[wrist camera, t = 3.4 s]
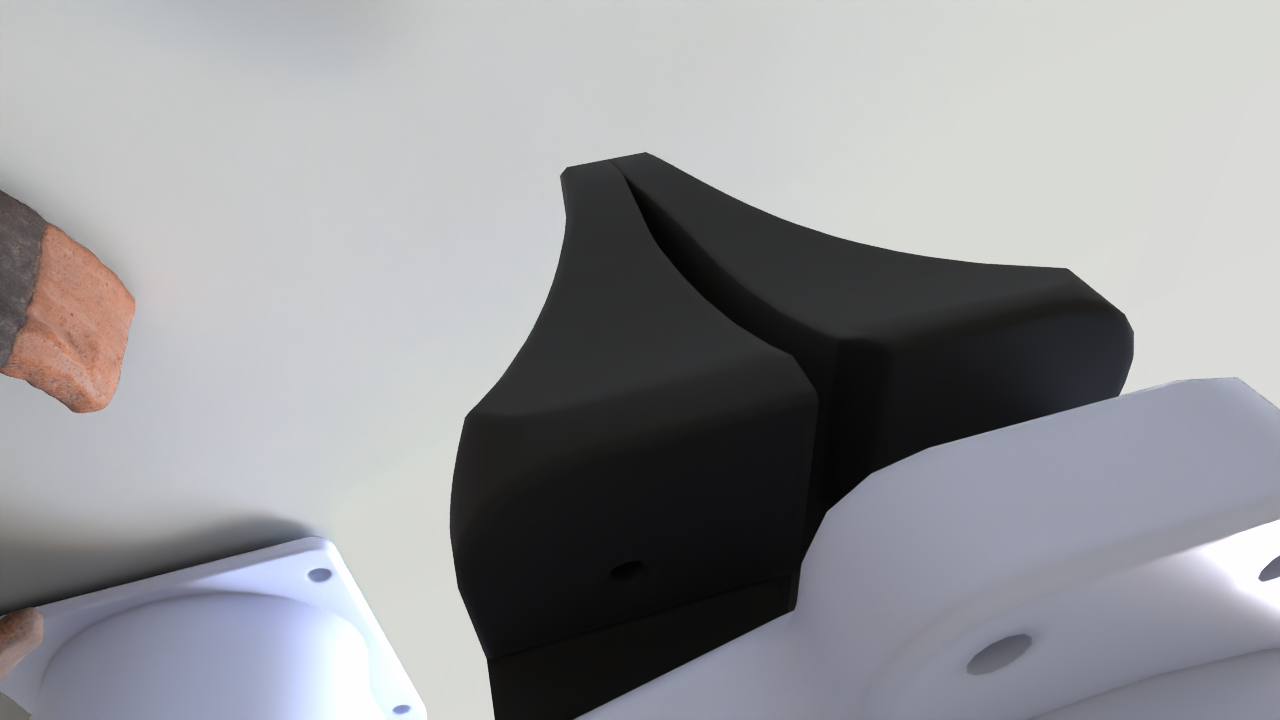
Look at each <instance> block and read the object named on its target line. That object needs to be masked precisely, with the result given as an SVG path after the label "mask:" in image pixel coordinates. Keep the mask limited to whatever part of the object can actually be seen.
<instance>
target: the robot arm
mask: <svg viewBox="0 0 1280 720" xmlns="http://www.w3.org/2000/svg"><path fill="white" fill-rule="evenodd" d="M560 178H561V185H562V192H563V198H564V205H565V212H566V226H565V235H564V240H563V245H562V250H561V254H560V259H559V263H558V267H557V270H556V274H555V277H554V280H553V283H552V286H551V289H550V291H549V294H548V297H547V299H546V302H545V304H544V306H543V308H542V311H541V313H540V315H539V317H538V319H537V321H536V323H535V325H534V327H533V329H532V331H531V333H530V335H529V336H528V338H527V340H526V342H525V343H524V345H523V346H522V348H521V349H520V351H519V352H518V354H517V355H516V357H515V358H514V360H513V361H512V363H511V364H510V366H509V367H508V369H507V370H506V372H505V373H504V374H503V376H502V377H501V378H500V380H499V381H498V382H497V383H496V384H495V386H494V387H493V388H492V389H491V390H490V391H489V392H488V393H487V394H486V395H485V397H484V398H483V399H482V400H481V401H480V402H479V403H478V404H477V405H476V406H475V407H474V408H473V409H472V410H471V411H470V412H469V413H468V414H467V416H466V417H465V420H464V425H463V429H462V433H461V438H460V442H459V447H458V452H457V457H456V463H455V469H454V475H453V482H452V491H451V504H450V538H451V544H452V551H453V558H454V565H455V571H456V578H457V584H458V589H459V591H460V594H461V596H462V599H463V601H464V604H465V606H466V609H467V611H468V614H469V616H470V619H471V621H472V624H473V626H474V629H475V631H476V634H477V636H478V639H479V641H480V644H481V646H482V649H483V651H484V654H485V656H486V658H487V664H488V672H489V679H490V686H491V694H492V701H493V708H494V716H495V720H1280V409H1279V408H1277V407H1276V406H1275V405H1273V404H1272V403H1271V402H1269V401H1268V400H1267V399H1266V398H1264V397H1263V396H1262V395H1260V394H1259V393H1258V392H1256V391H1255V390H1254V389H1252V388H1251V387H1250V386H1248V385H1247V384H1246V383H1245V382H1243V381H1242V380H1241V379H1239V378H1238V377H1232V378H1211V379H1190V380H1177V381H1173V382H1169V383H1166V384H1162V385H1158V386H1155V387H1151V388H1147V389H1143V390H1140V391H1136V392H1132V393H1129V394H1125V395H1121V396H1119V394H1120V392H1121V390H1122V388H1123V386H1124V384H1125V381H1126V378H1127V375H1128V372H1129V369H1130V366H1131V363H1132V360H1133V355H1134V332H1133V330H1132V328H1131V326H1130V324H1129V322H1128V320H1127V318H1126V316H1125V314H1123V313H1122V312H1121V311H1120V310H1118V309H1117V308H1116V307H1115V306H1114V305H1112V304H1111V303H1110V302H1109V301H1107V300H1106V299H1105V298H1104V297H1102V296H1101V295H1100V294H1099V293H1097V292H1096V291H1095V290H1094V289H1092V288H1091V287H1090V286H1089V285H1087V284H1086V283H1085V282H1084V281H1082V280H1081V279H1080V278H1079V277H1078V276H1076V275H1075V274H1074V273H1073V272H1071V271H1070V270H1069V269H1067V268H1052V267H1034V266H1016V265H999V264H983V263H973V262H965V261H957V260H949V259H941V258H934V257H927V256H921V255H915V254H909V253H903V252H898V251H893V250H888V249H884V248H879V247H875V246H870V245H866V244H861V243H857V242H853V241H849V240H846V239H842V238H838V237H834V236H831V235H828V234H825V233H822V232H819V231H816V230H813V229H809V228H806V227H803V226H800V225H797V224H794V223H792V222H789V221H786V220H784V219H781V218H778V217H776V216H774V215H771V214H769V213H767V212H764V211H762V210H760V209H757V208H755V207H753V206H750V205H748V204H746V203H744V202H742V201H740V200H737V199H735V198H733V197H731V196H729V195H727V194H725V193H723V192H721V191H719V190H717V189H715V188H713V187H711V186H709V185H708V184H706V183H704V182H702V181H700V180H698V179H696V178H694V177H693V176H691V175H689V174H687V173H685V172H683V171H682V170H680V169H678V168H676V167H674V166H673V165H671V164H669V163H667V162H665V161H663V160H661V159H659V158H657V157H655V156H653V155H651V154H649V153H646V152H644V153H639V154H634V155H629V156H623V157H618V158H613V159H608V160H603V161H597V162H592V163H587V164H582V165H577V166H571V167H567V168H566V169H565V170H564V172H563V173H562V174H561V176H560ZM34 608H36V609H37V610H38V611H40V612H41V613H42V614H43V624H44V638H43V640H42V642H41V644H40V645H39V647H38V648H36V649H35V650H34V651H32V652H31V653H30V654H28V655H27V656H26V657H24V658H23V659H22V660H21V661H20V662H19V663H18V664H17V665H16V666H15V667H14V668H13V669H12V670H11V671H10V672H9V673H8V674H7V675H6V677H4V678H3V679H2V681H1V682H0V691H1V692H2V693H3V694H5V695H6V696H7V697H9V698H10V699H11V700H12V701H14V702H15V703H16V704H18V705H19V706H20V707H22V708H23V709H24V710H26V711H27V712H28V713H30V714H31V717H30V720H427V717H426V708H425V706H424V705H423V703H422V701H421V699H420V697H419V696H418V694H417V692H416V690H415V688H414V687H413V685H412V683H411V681H410V680H409V678H408V676H407V674H406V672H405V671H404V669H403V667H402V665H401V663H400V662H399V660H398V658H397V656H396V655H395V653H394V651H393V649H392V647H391V646H390V644H389V642H388V640H387V638H386V637H385V635H384V633H383V631H382V630H381V628H380V626H379V624H378V622H377V621H376V619H375V617H374V615H373V613H372V612H371V610H370V608H369V606H368V605H367V603H366V601H365V599H364V597H363V596H362V594H361V592H360V590H359V588H358V587H357V585H356V583H355V581H354V580H353V578H352V576H351V574H350V572H349V571H348V569H347V567H346V565H345V563H344V562H343V560H342V558H341V556H340V555H339V553H338V551H337V549H336V547H335V546H334V544H333V543H332V542H331V541H330V540H327V539H325V538H322V537H315V536H313V537H305V538H302V539H298V540H294V541H290V542H286V543H282V544H278V545H274V546H271V547H267V548H263V549H259V550H255V551H251V552H247V553H243V554H240V555H236V556H232V557H228V558H224V559H220V560H216V561H212V562H208V563H205V564H201V565H197V566H193V567H189V568H185V569H181V570H177V571H174V572H170V573H166V574H162V575H158V576H154V577H150V578H146V579H143V580H139V581H135V582H131V583H127V584H123V585H119V586H115V587H112V588H108V589H104V590H100V591H96V592H92V593H88V594H84V595H81V596H77V597H73V598H69V599H65V600H61V601H57V602H53V603H49V604H46V605H42V606H38V607H34ZM4 616H5V615H3V616H0V619H1V618H3V617H4Z"/></svg>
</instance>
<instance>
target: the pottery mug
mask: <svg viewBox="0 0 1280 720" xmlns="http://www.w3.org/2000/svg"><path fill="white" fill-rule="evenodd" d="M134 311H135V301H134V298H133V296H132V295H131V294H130V293H129V292H128V291H127V290H126V288H125V287H124V285H123V284H122V282H121V281H120V279H119V278H118V277H117V275H116V274H115V273H113V272H112V271H111V270H110V269H108V268H107V267H106V266H105V265H104V264H102V263H101V262H100V260H99V259H98V258H97V257H96V256H95V255H94V254H93V253H92V252H91V251H90V250H88V249H87V248H85V247H84V246H82V245H80V244H79V243H77V242H75V241H74V240H73V239H71V238H70V237H69V236H67V235H66V234H65V233H64V232H63V231H62V230H60V229H59V228H57V227H55V226H53V225H51V224H49V223H47V222H46V221H45V220H44V219H43V218H42V217H41V216H40V215H39V214H38V213H37V212H36V211H34V210H32V209H31V208H29V207H28V206H26V205H25V204H23V203H21V202H19V201H18V200H16V199H14V198H12V197H11V196H9V195H8V194H6V193H4V192H3V191H1V190H0V373H2V374H5V375H7V376H10V377H14V378H18V379H23V380H26V381H27V382H28V383H29V384H30V385H32V386H33V387H36V388H38V389H41V390H43V391H44V392H46V393H47V394H48V395H50V396H52V397H54V398H56V399H57V400H59V401H60V402H62V403H63V404H64V405H66V406H67V407H68V408H69V409H70V410H71V411H73V412H75V413H88V412H95V411H98V410H101V409H103V408H104V407H106V406H107V404H108V403H109V402H110V400H111V398H112V396H113V394H114V392H115V390H116V387H117V384H118V381H119V378H120V372H121V364H122V358H123V355H124V351H125V348H126V344H127V339H128V329H129V326H130V323H131V320H132V317H133V315H134ZM43 638H44V624H43V614H42V613H41V612H40V611H38V610H37V609H36V608H23V609H19V610H16V611H13V612H11V613H9V614H7V615H5V616H4V617H3V618H1V619H0V682H1V681H2V679H3V678H4V677H6V675H7V674H8V673H9V672H10V671H11V670H12V669H13V668H14V667H15V666H16V665H17V664H18V663H19V662H20V661H21V660H22V659H23V658H24V657H26V656H27V655H28V654H30V653H31V652H32V651H34V650H35V649H36V648H38V647H39V645H40V644H41V642H42V640H43Z"/></svg>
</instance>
